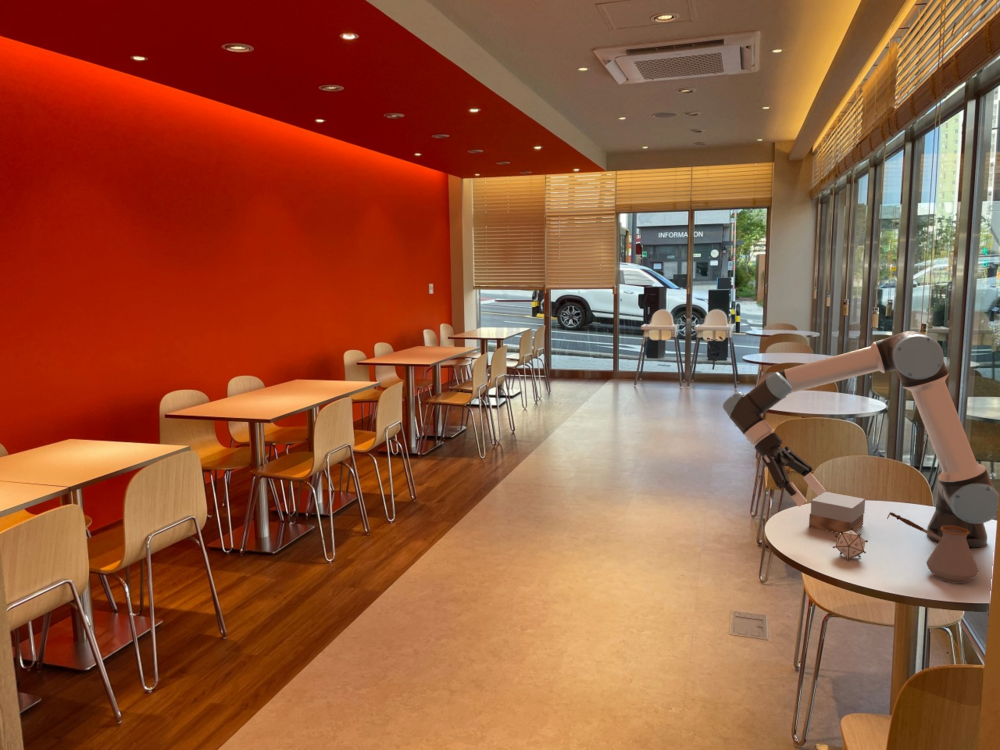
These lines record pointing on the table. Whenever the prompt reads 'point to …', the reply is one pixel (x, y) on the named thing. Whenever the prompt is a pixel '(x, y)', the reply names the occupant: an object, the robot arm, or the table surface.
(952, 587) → the table surface
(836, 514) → the tower top slab
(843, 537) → the game die
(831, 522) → the tower bottom slab
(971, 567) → the coffee pot
